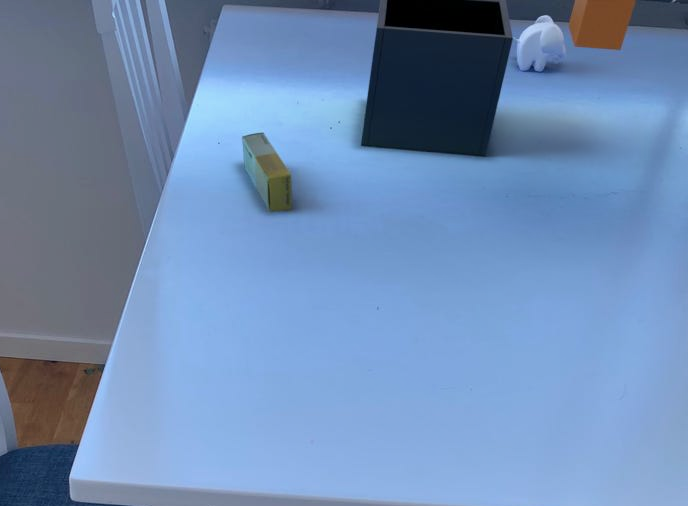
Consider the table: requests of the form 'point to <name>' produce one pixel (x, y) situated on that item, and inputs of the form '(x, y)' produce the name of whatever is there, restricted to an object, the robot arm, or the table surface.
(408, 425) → the table surface
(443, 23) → the trash can
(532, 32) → the elephant figurine
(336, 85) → the table surface
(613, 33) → the block
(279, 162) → the medication box
